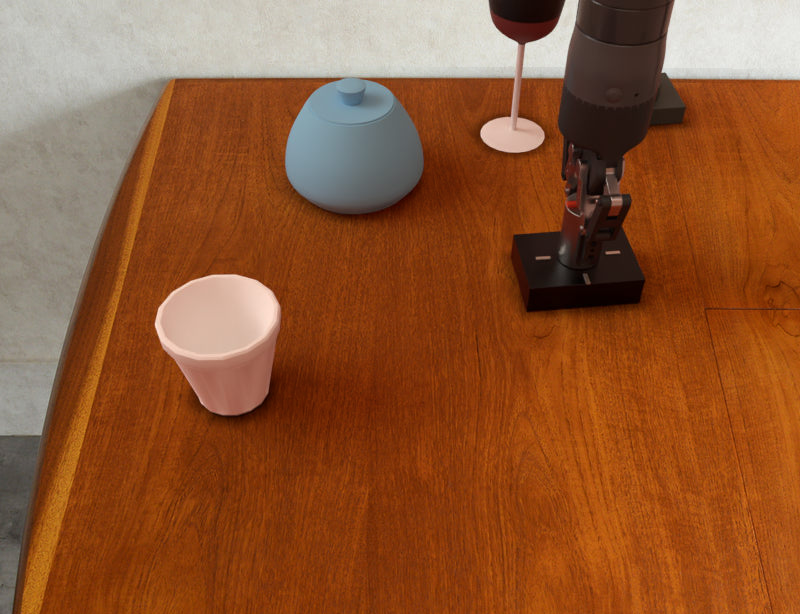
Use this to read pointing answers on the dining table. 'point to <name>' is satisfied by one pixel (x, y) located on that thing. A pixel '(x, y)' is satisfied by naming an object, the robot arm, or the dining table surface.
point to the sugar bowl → (353, 148)
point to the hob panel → (574, 274)
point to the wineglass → (520, 67)
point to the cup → (222, 339)
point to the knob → (571, 233)
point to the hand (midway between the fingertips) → (579, 245)
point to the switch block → (667, 104)
